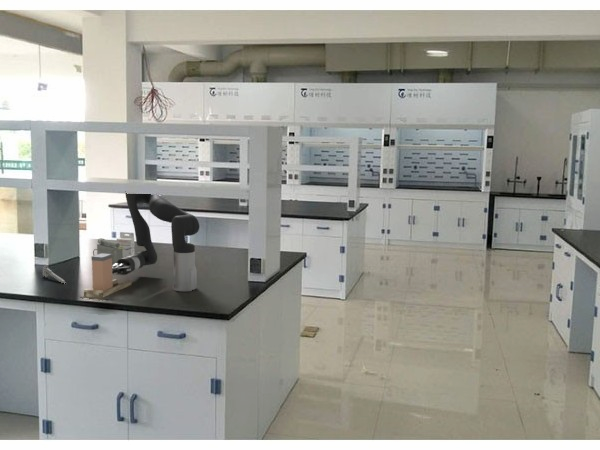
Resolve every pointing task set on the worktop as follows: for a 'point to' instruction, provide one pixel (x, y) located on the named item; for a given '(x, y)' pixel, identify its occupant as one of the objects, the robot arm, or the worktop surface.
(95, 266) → the block
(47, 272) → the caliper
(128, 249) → the ink cartridge box
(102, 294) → the chute
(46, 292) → the worktop surface
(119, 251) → the geiger counter
